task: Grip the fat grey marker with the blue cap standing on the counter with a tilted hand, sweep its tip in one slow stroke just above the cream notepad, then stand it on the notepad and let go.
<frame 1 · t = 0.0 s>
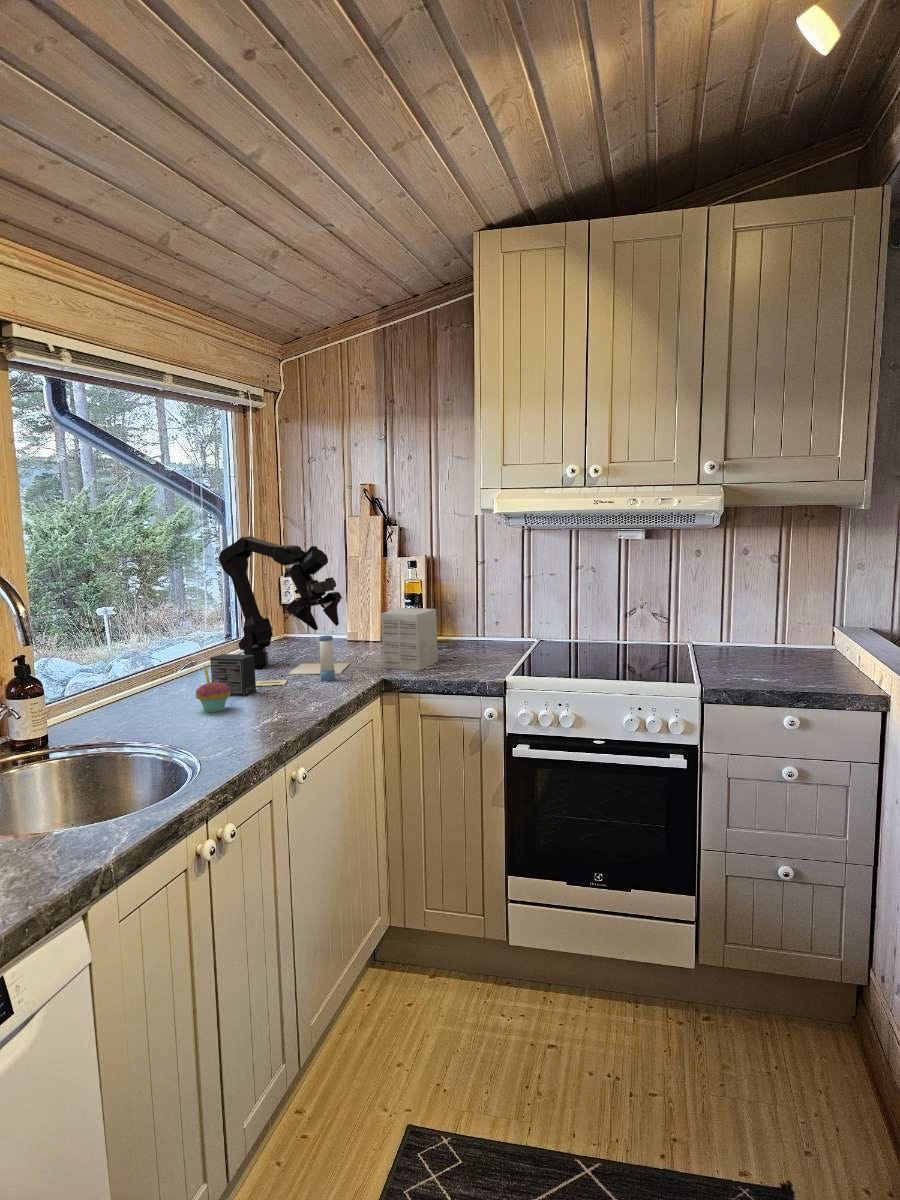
hand: (327, 627, 232), 15 cm above the counter, tool tilted 35°, fingers open, 9 cm apart
marker: (327, 680, 229), on the counter
cupcake: (214, 710, 199), on the counter
small box: (234, 693, 216), on the counter
word card: (270, 684, 226), on the counter
supplement box: (410, 666, 247), on the counter
notepad: (320, 669, 245), on the counter
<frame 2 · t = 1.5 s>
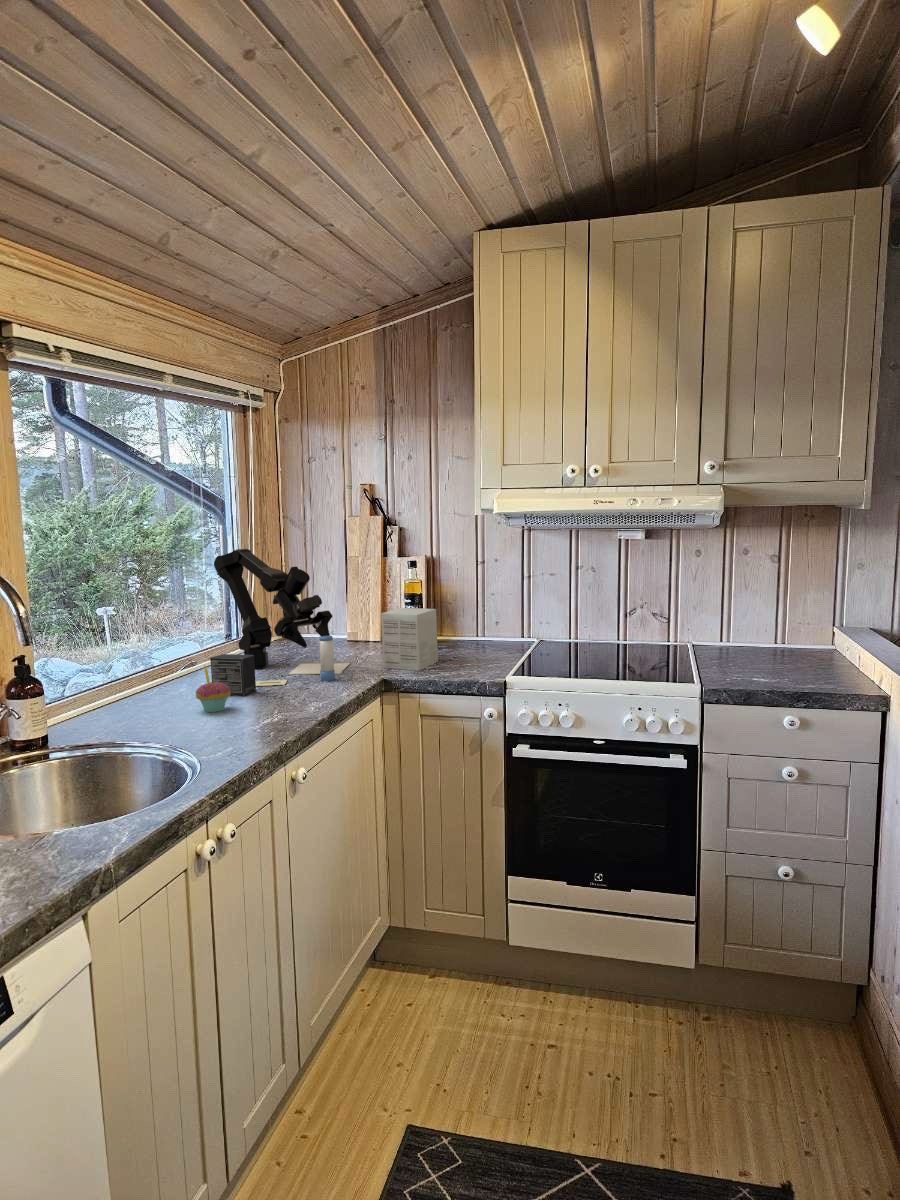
hand: (318, 644, 229), 10 cm above the counter, tool tilted 45°, fingers open, 9 cm apart
nothing on the counter moved.
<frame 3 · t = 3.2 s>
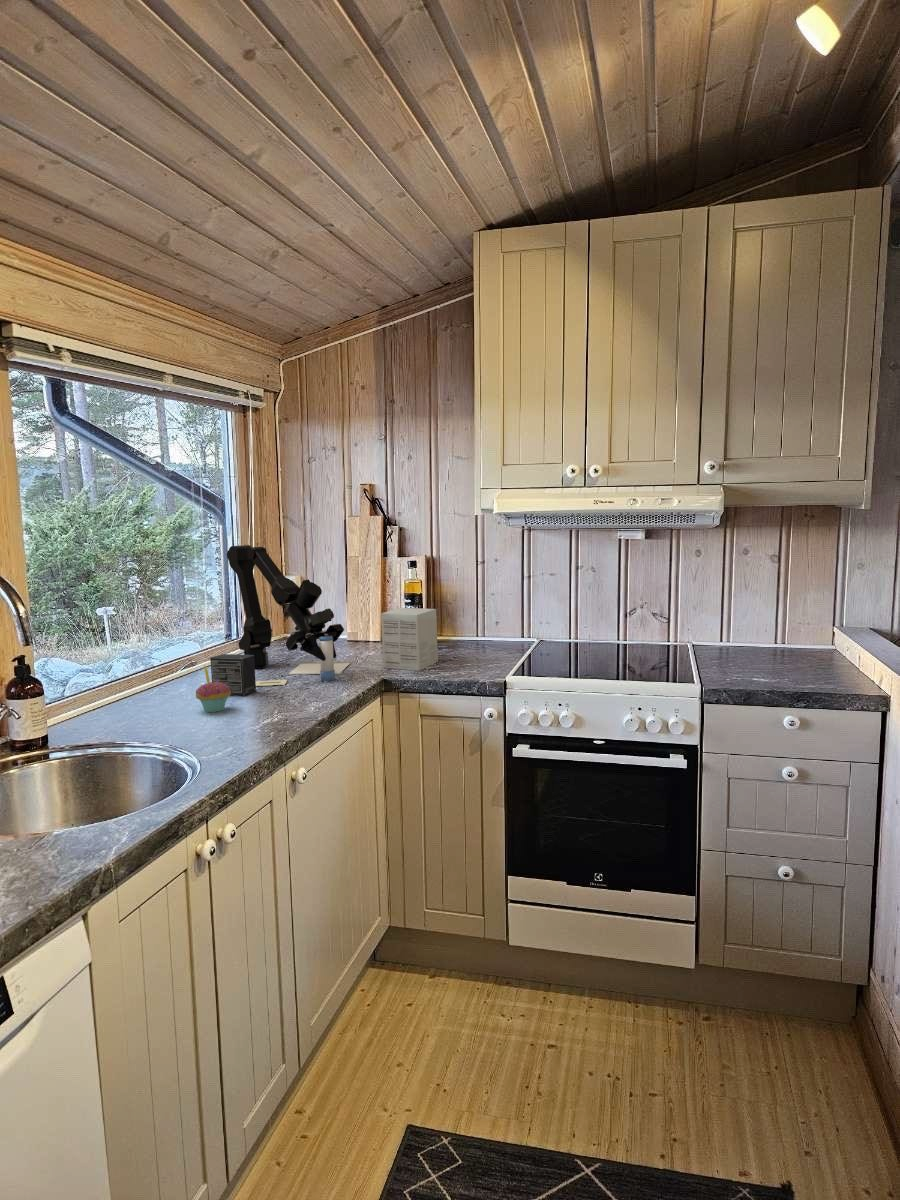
hand: (330, 658, 227), 7 cm above the counter, tool tilted 45°, fingers closed on marker, 4 cm apart
marker: (327, 680, 229), on the counter, touching gripper
everything else where it was.
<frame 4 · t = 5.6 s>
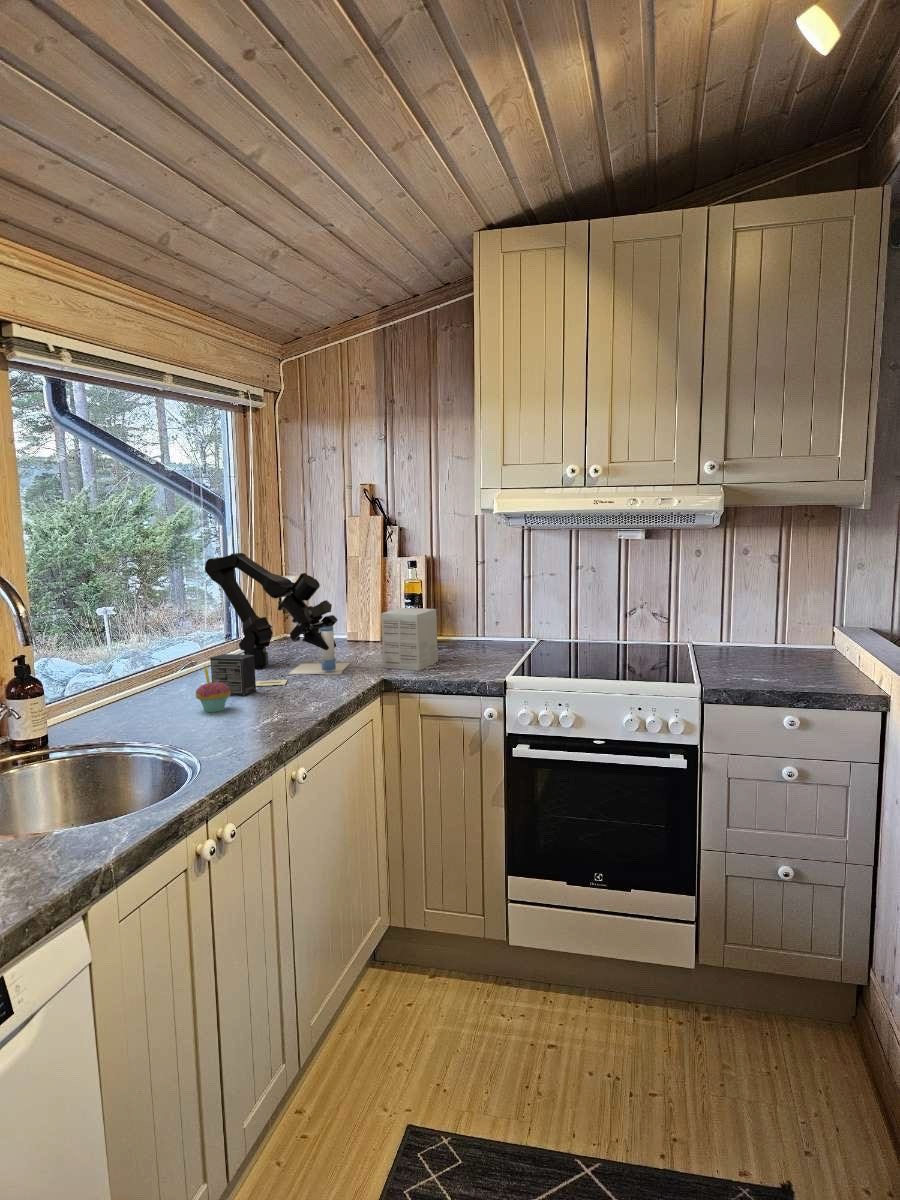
hand: (331, 648, 237), 8 cm above the counter, tool tilted 45°, fingers closed on marker, 4 cm apart
marker: (328, 669, 239), point 1 cm above the counter, touching gripper
everything else where it was.
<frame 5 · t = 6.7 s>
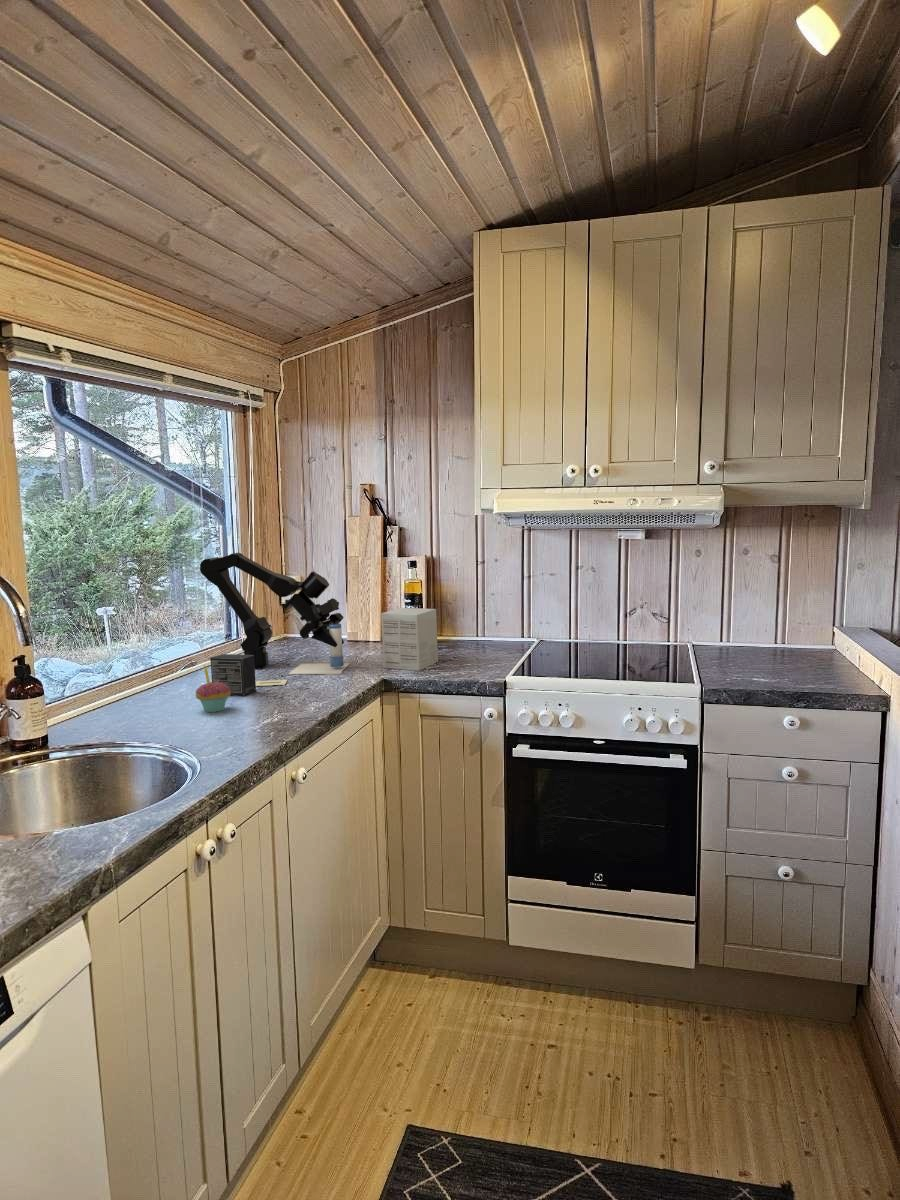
hand: (339, 645, 242), 8 cm above the counter, tool tilted 45°, fingers closed on marker, 4 cm apart
marker: (336, 665, 243), point 1 cm above the counter, touching gripper
everything else where it was.
when the fingers open (8 cm above the counter, at t = 7.9 s): marker stays where it is, resting on notepad.
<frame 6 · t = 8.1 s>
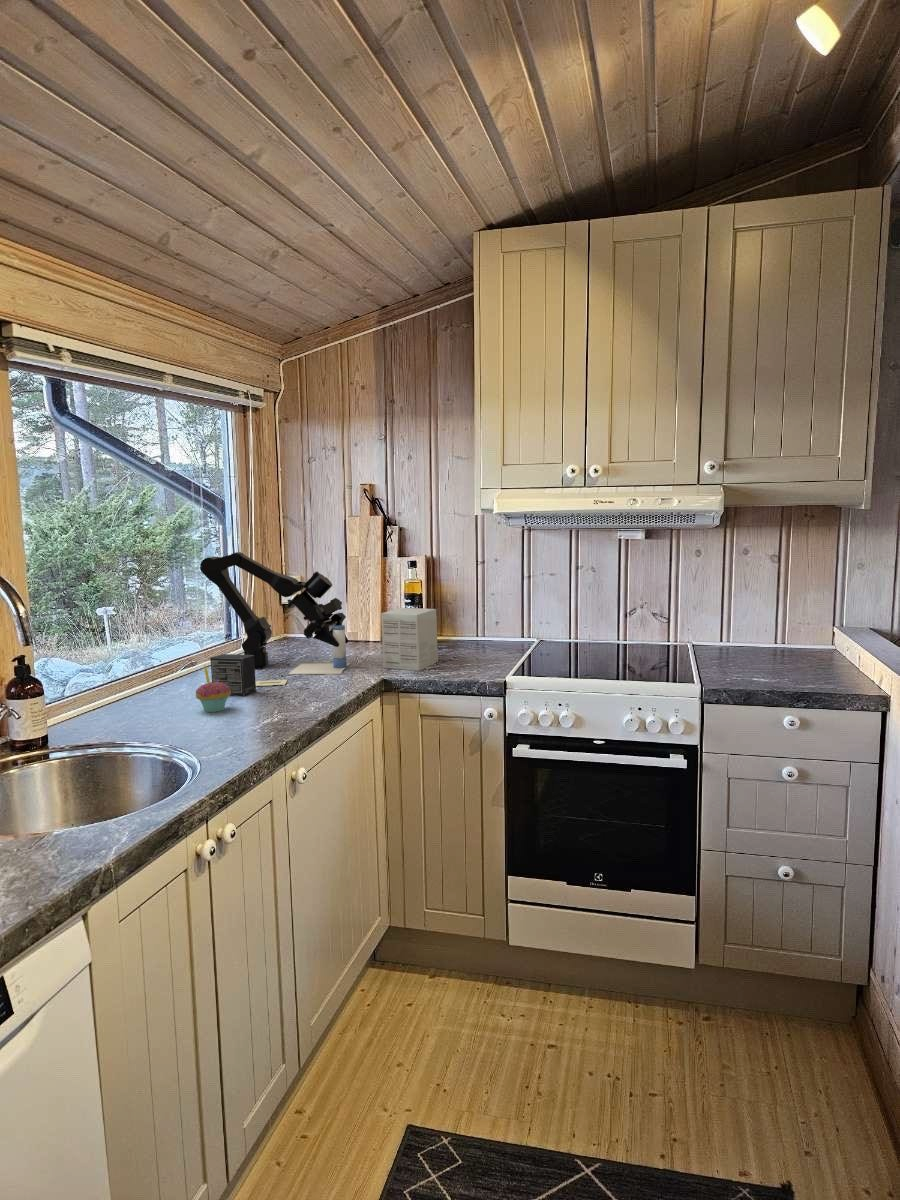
hand: (343, 644, 244), 8 cm above the counter, tool tilted 45°, fingers open, 6 cm apart
marker: (340, 666, 245), resting on notepad
everything else where it was.
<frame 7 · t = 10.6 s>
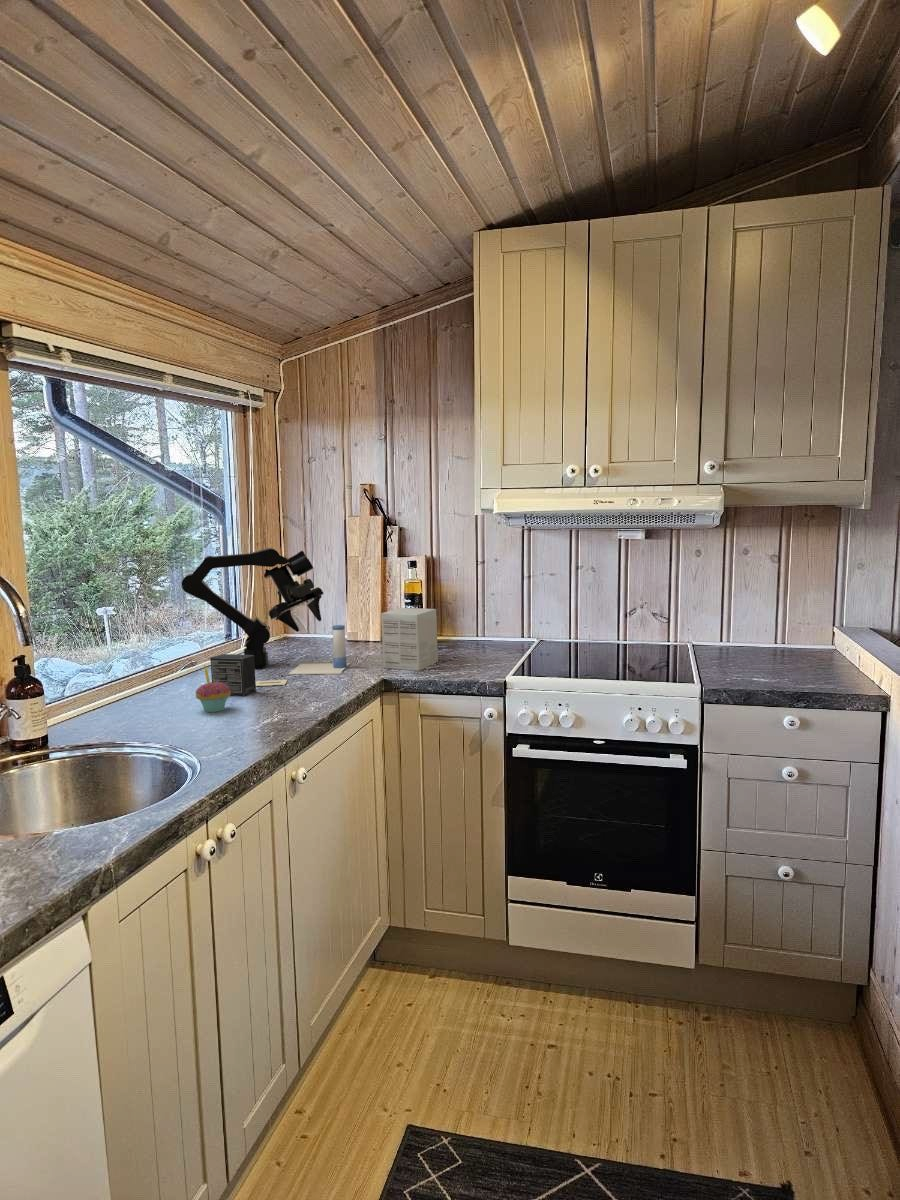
hand: (309, 626, 248), 13 cm above the counter, tool tilted 30°, fingers open, 9 cm apart
nothing on the counter moved.
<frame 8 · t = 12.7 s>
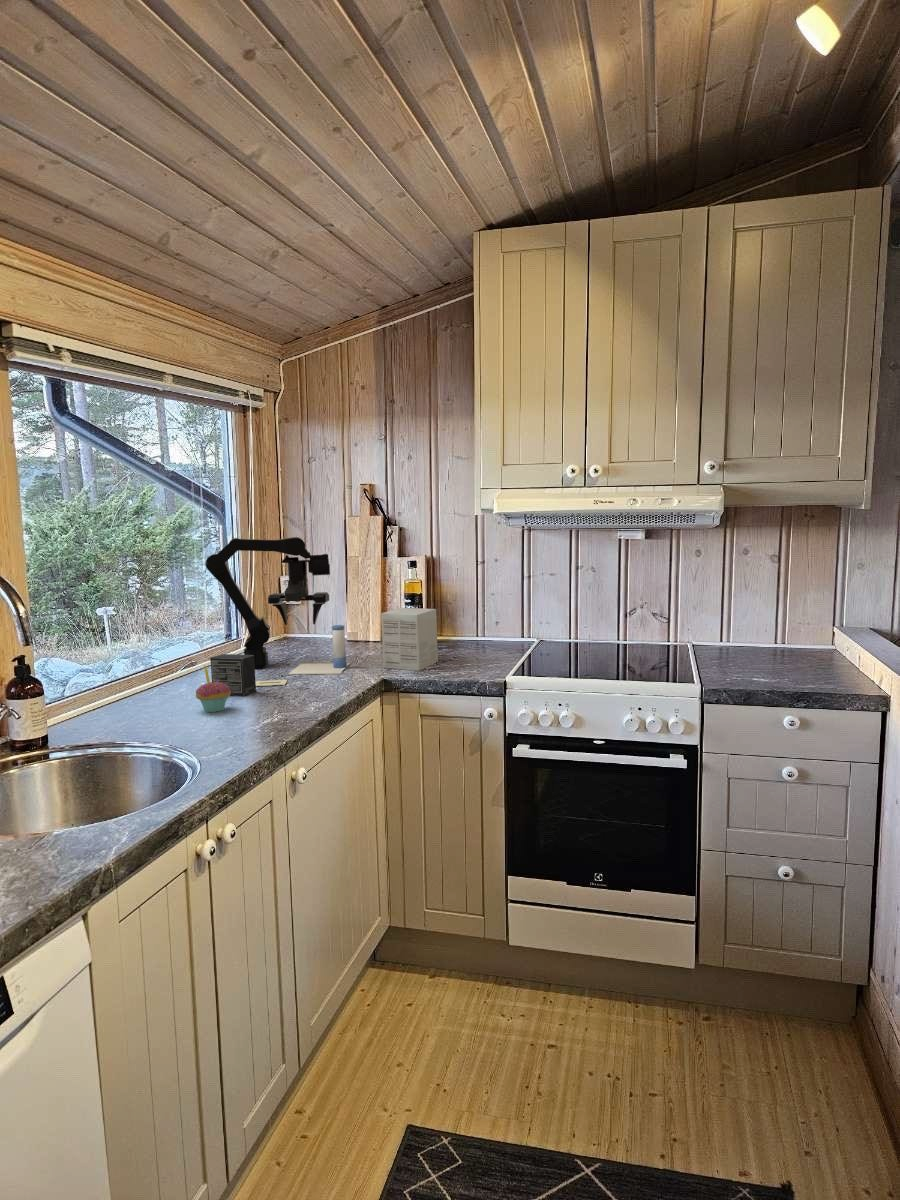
hand: (300, 624, 252), 13 cm above the counter, tool pointing down, fingers open, 9 cm apart
nothing on the counter moved.
at the end: marker inside the target area on the notepad (6.1 cm from its centre), point 0.4 cm above the notepad's base; the gripper is holding nothing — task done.
